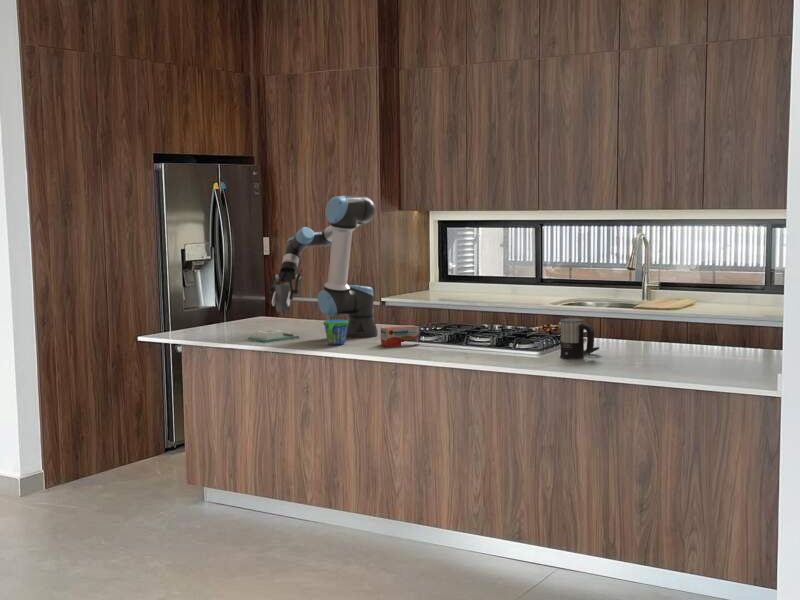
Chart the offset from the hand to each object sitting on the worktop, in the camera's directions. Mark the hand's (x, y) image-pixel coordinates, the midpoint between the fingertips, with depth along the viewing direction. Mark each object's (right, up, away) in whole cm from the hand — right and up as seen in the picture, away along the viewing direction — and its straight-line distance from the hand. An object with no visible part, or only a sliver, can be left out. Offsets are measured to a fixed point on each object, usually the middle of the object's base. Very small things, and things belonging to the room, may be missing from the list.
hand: (280, 304), depth 438 cm
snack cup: (+27, -17, -22) cm, 39 cm away
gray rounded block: (+1, -3, +4) cm, 5 cm away
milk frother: (+125, -20, -61) cm, 141 cm away
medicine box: (+55, -18, -26) cm, 63 cm away
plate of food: (+129, -14, +5) cm, 130 cm away
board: (-3, -15, -4) cm, 16 cm away
